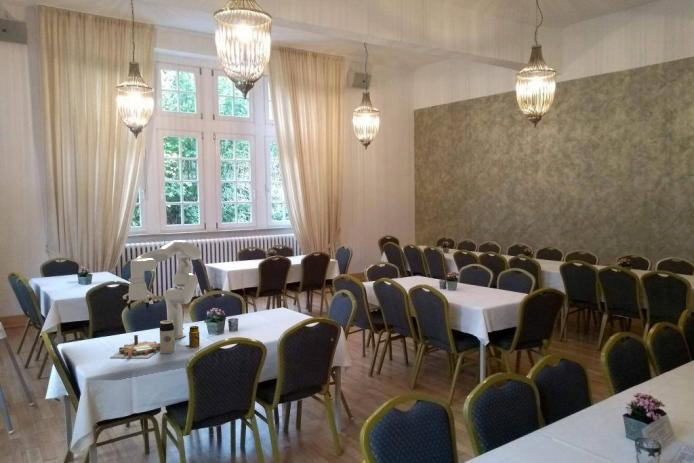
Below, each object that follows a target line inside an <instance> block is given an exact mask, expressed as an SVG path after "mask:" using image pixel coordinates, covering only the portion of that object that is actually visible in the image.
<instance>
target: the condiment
mask: <svg viewBox="0 0 694 463" xmlns="http://www.w3.org/2000/svg"><path fill="white" fill-rule="evenodd" d="M188 336H189V337H188V340H189V343H188V344H186V345H184V347H185V348H186V349H195V348H196V349H197V348H200V347H201V348H202V345H201V344H200V340H201V339H200V331H199V326H198V325H192V326H190V327H189V332H188Z"/></svg>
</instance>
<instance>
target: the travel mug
mask: <svg viewBox="0 0 694 463" xmlns="http://www.w3.org/2000/svg"><path fill="white" fill-rule="evenodd" d="M159 324H160V326H159V343H160V350H159V352H160V353H161V354H165V355H167V354H172V353H174V352H175V349H176V348H175V346H176V345H175V339H174V326H173V321H172V320H167V319H166V320H161V321H160V322H159Z"/></svg>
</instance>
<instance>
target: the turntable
mask: <svg viewBox="0 0 694 463" xmlns="http://www.w3.org/2000/svg"><path fill="white" fill-rule="evenodd" d="M133 341H134V342H132V343H129V344H127V343H126V344H124V346H120V347H119V348H118V349H119V350H118V352H119V353H124V354H125V355H127V354H128V348H132V354H134V355H137V354H143V353H144V354H147V353H149V352H152V351H154V352H155V351H157V349H160V342H158V343H157V342H156V341H146V340H145V341H140V342H139V336H138V334H134V335H133Z"/></svg>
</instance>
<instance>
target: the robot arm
mask: <svg viewBox="0 0 694 463" xmlns="http://www.w3.org/2000/svg"><path fill="white" fill-rule="evenodd" d="M175 255H176V257H177V260H178V266H177V270H176V273H175V275H174V277H173V280H172V284H173V286H174V287H171V288H168V289H167V290H165V292H164V300H165V304H166V320H172V321H173V326H174V340H177V339H183V338H185V337H186V333H184V329H185V328H184V324H183V323H184V322H183V321H184V320H183V316H184V315H183V306H182V305H186V304H187V305H188V304H189V303H190V302H191V300H192V298H193V296H194V293H195V291H196V288H197V285H198V277H197V275H196V274H194V273H191V272H192V269H193V267H192V263H191V261H190V260H194V261H195V260H198V259H199V258H200V257H201V255H202V254H201V250H200V248H199V247H198V246H196V245H195V244H193V243H191V242H189V241H186V240H171V241H169V242H167V243H166V244H164V245H163V246H161V247H159V248H156V249H153V250H151V251H147V252H145V253H142V254H140V255H139V256H138V257H136V258H135V259H132V260H131V261H130V278H128V279H127V280H128V282H130V283H129V284H128V292H127V293H125V294H124V295H122V299H123V300H124V302H126V304H127V309H128V311H131V309H132V303H131V301H144V300H145V309H146V310H148V309H149V308H150V301H151V300H153V298H154V296H155V294H154V293H152V292H150V291H148V287H147V286H148V285H147V283H146V281H145V280H146V278H145V277H146V276H145V272H147V271H148V272H149V271H150V272H151V271H154V270H155V269H156V268H157V267H158V263H161V262H165V261H168V260H169V259H171V258H173V256H175ZM127 296H128V299H127ZM148 296H150V297H149V298H148Z"/></svg>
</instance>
